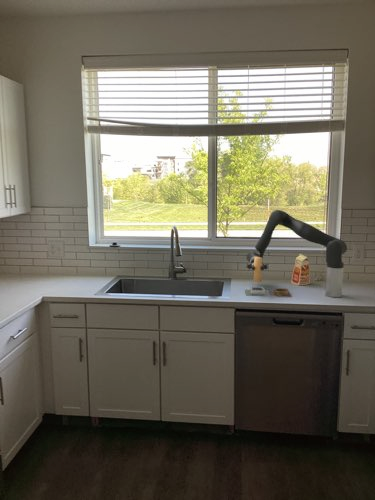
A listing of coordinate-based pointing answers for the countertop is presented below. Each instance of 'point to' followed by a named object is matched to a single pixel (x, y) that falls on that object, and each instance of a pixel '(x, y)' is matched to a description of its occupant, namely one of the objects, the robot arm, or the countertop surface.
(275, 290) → the holder
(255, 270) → the peg
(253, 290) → the hub
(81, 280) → the countertop surface
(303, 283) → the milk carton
